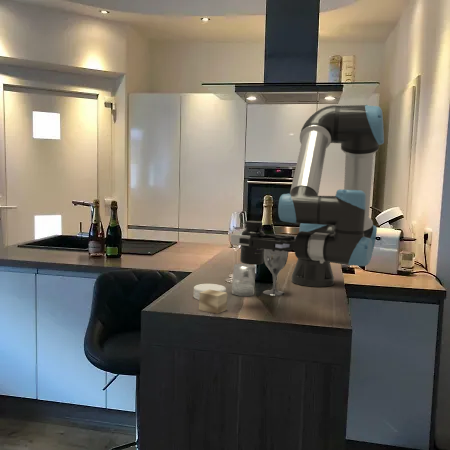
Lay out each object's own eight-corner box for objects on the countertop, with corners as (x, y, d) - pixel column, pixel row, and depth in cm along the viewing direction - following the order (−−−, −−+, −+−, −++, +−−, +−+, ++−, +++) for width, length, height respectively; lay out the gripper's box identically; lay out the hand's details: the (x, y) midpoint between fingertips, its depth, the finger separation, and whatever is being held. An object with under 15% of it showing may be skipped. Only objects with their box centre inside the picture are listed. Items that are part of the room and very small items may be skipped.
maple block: (226, 310, 138) (227, 292, 137) (217, 314, 134) (218, 296, 133) (208, 306, 141) (209, 289, 140) (198, 310, 137) (199, 292, 136)
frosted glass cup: (251, 291, 161) (253, 264, 160) (255, 296, 154) (257, 268, 153) (230, 290, 160) (232, 263, 159) (233, 295, 153) (235, 267, 152)
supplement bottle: (262, 265, 138) (264, 223, 137) (238, 264, 139) (239, 222, 138) (265, 261, 145) (266, 221, 143) (242, 259, 146) (243, 219, 145)
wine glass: (282, 290, 165) (284, 245, 163) (289, 295, 157) (291, 249, 156) (259, 290, 164) (261, 245, 162) (265, 295, 156) (267, 249, 154)
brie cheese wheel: (188, 295, 154) (188, 284, 153) (217, 293, 158) (218, 282, 157) (200, 303, 145) (200, 291, 144) (231, 300, 149) (231, 289, 148)
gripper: (297, 265, 124) (219, 254, 136) (323, 255, 141) (252, 246, 153) (299, 235, 123) (220, 227, 135) (325, 229, 140) (253, 222, 152)
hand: (237, 237), depth 144 cm, fingers closed on supplement bottle, 7 cm apart
